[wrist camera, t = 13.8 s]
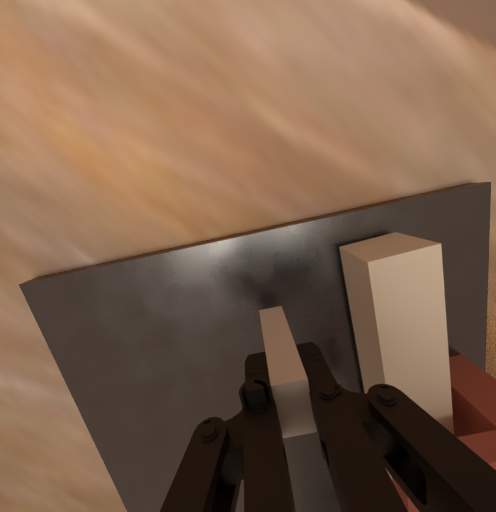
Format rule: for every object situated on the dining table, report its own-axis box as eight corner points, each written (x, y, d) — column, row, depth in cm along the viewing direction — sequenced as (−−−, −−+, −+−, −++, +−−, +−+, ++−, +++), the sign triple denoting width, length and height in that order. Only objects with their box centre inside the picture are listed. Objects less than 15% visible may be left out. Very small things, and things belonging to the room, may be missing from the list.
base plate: (467, 475, 26) (481, 492, 24) (153, 534, 27) (147, 554, 25) (471, 182, 18) (491, 181, 17) (35, 277, 19) (18, 284, 18)
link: (435, 484, 23) (515, 605, 16) (372, 498, 23) (426, 623, 17) (410, 228, 17) (522, 251, 10) (325, 250, 17) (379, 287, 10)
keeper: (461, 403, 21) (574, 510, 14) (353, 423, 22) (410, 540, 14) (461, 354, 20) (585, 444, 13) (347, 377, 20) (406, 478, 13)
